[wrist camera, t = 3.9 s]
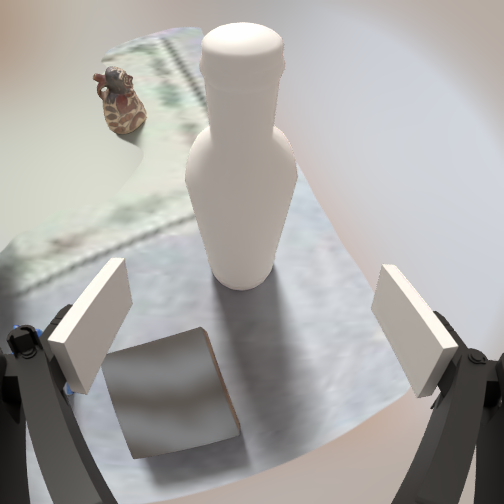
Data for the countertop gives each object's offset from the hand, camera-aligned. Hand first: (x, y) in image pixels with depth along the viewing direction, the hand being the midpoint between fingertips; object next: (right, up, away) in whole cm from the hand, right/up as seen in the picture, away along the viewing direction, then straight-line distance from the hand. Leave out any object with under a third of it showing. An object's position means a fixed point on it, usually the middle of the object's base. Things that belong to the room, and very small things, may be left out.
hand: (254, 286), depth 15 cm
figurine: (-22, +25, +32) cm, 46 cm away
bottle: (-1, +1, +24) cm, 24 cm away
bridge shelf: (-9, -15, +18) cm, 25 cm away
